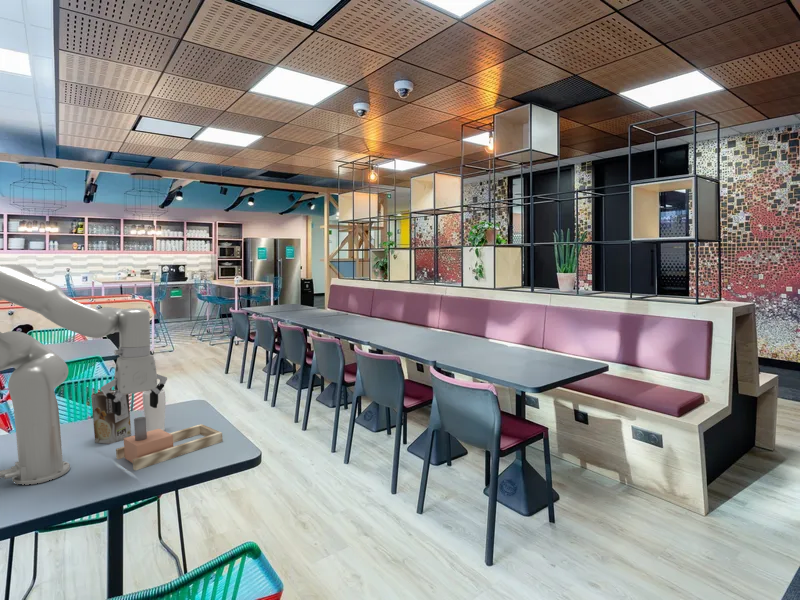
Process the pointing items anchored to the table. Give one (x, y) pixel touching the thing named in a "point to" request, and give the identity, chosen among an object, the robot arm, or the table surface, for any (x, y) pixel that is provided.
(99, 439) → the coffee box
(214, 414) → the table surface
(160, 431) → the salmon block with knob
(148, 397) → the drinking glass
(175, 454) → the bay
